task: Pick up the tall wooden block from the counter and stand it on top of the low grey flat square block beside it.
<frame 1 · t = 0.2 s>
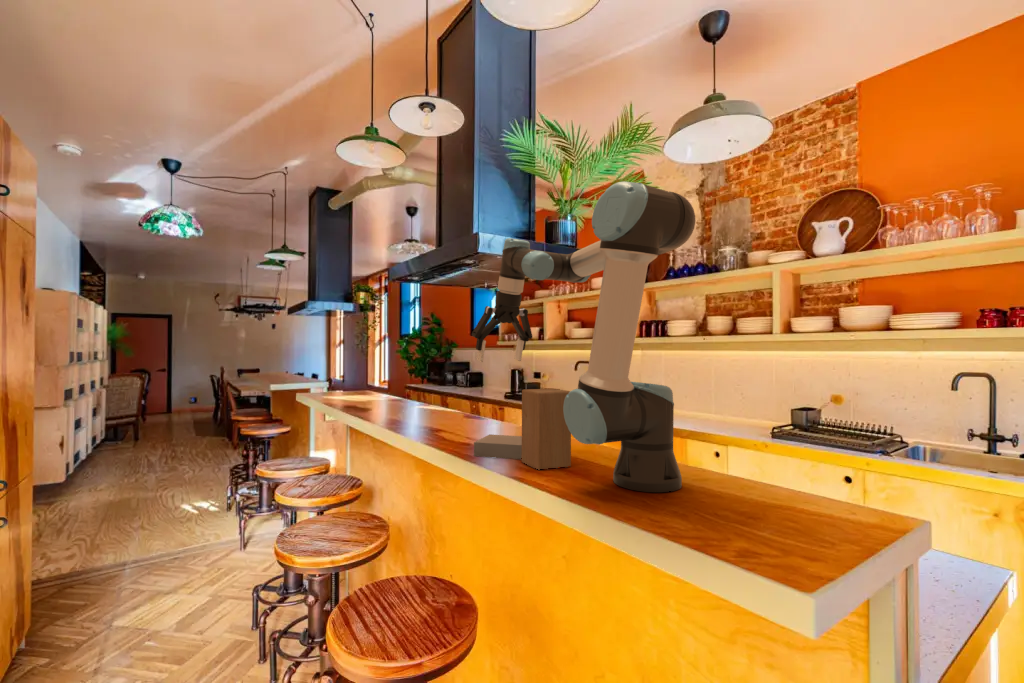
hand: (499, 360, 143), 28 cm above the worktop, tool tilted 15°, fingers open, 13 cm apart
grey flat square block: (504, 452, 140), on the worktop
wooden block: (545, 465, 125), on the worktop
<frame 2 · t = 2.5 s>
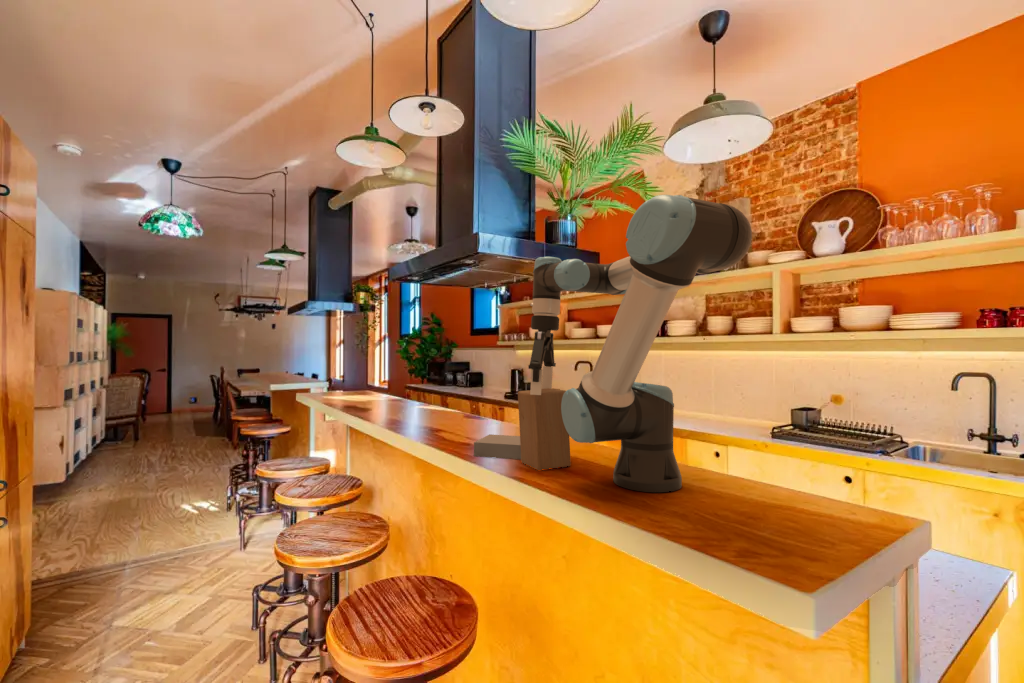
hand: (541, 394, 126), 19 cm above the worktop, tool pointing down, fingers open, 14 cm apart
wooden block: (545, 466, 125), on the worktop, touching gripper
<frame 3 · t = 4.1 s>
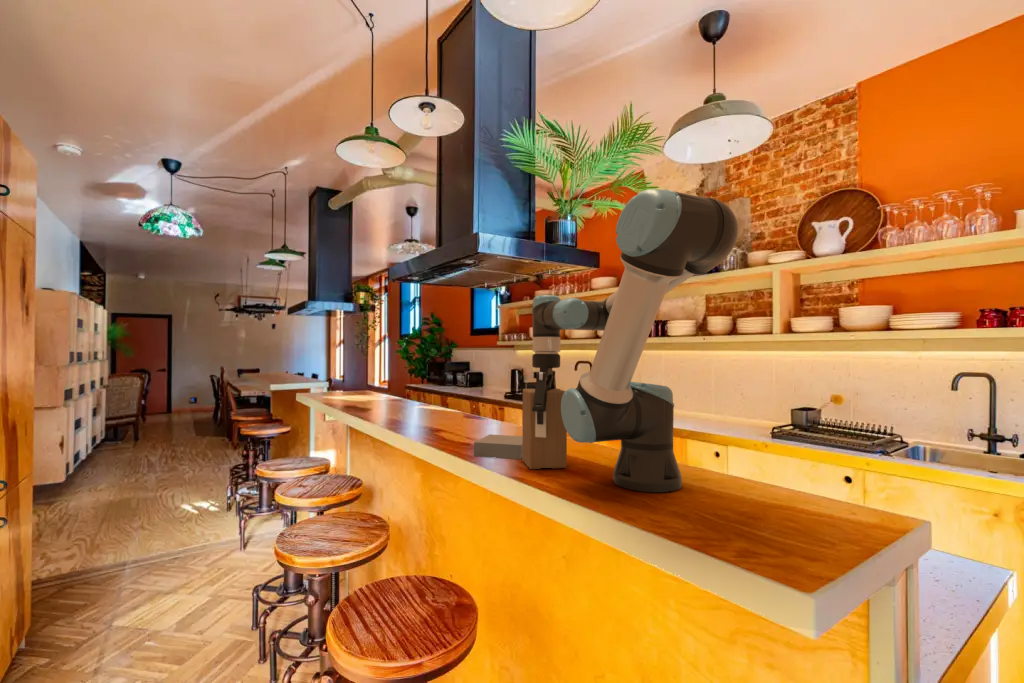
hand: (546, 433, 125), 8 cm above the worktop, tool pointing down, fingers closed on wooden block, 12 cm apart
wooden block: (543, 465, 125), on the worktop, touching gripper
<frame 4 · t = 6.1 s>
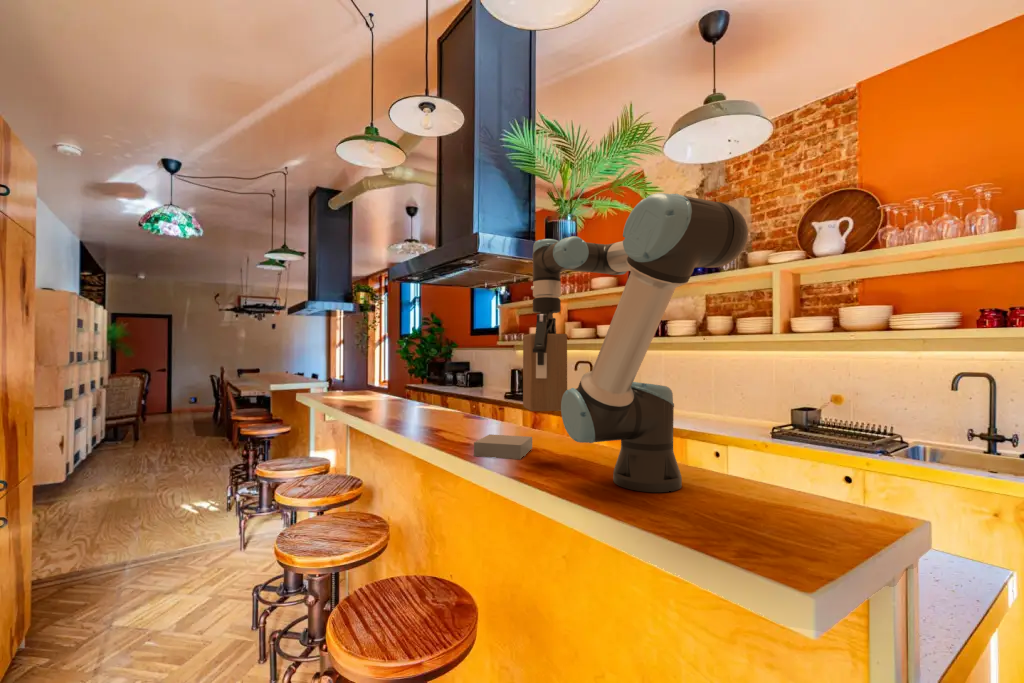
hand: (546, 377, 126), 23 cm above the worktop, tool pointing down, fingers closed on wooden block, 12 cm apart
wooden block: (544, 409, 125), point 15 cm above the worktop, touching gripper
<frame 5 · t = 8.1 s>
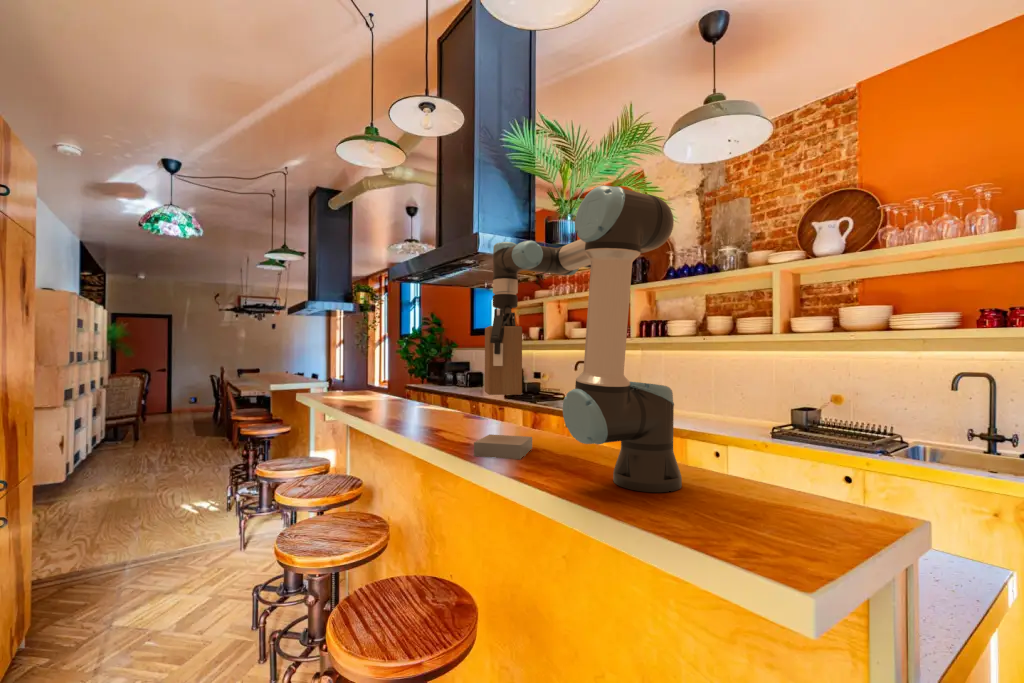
hand: (504, 365, 141), 26 cm above the worktop, tool pointing down, fingers closed on wooden block, 12 cm apart
wooden block: (502, 394, 140), point 18 cm above the worktop, touching gripper
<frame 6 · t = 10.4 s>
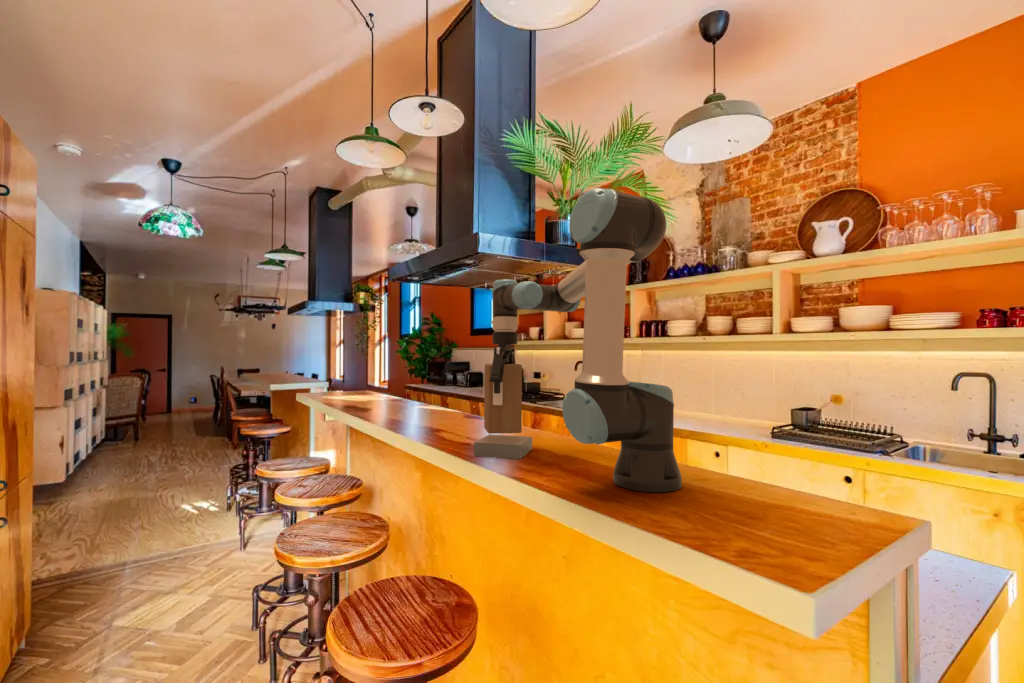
hand: (504, 402, 140), 15 cm above the worktop, tool pointing down, fingers closed on wooden block, 12 cm apart
wooden block: (502, 431, 140), point 6 cm above the worktop, touching gripper
when the fingers open (14 cm above the worktop, at t = 11.9 s): wooden block drops 2 cm, resting on grey flat square block.
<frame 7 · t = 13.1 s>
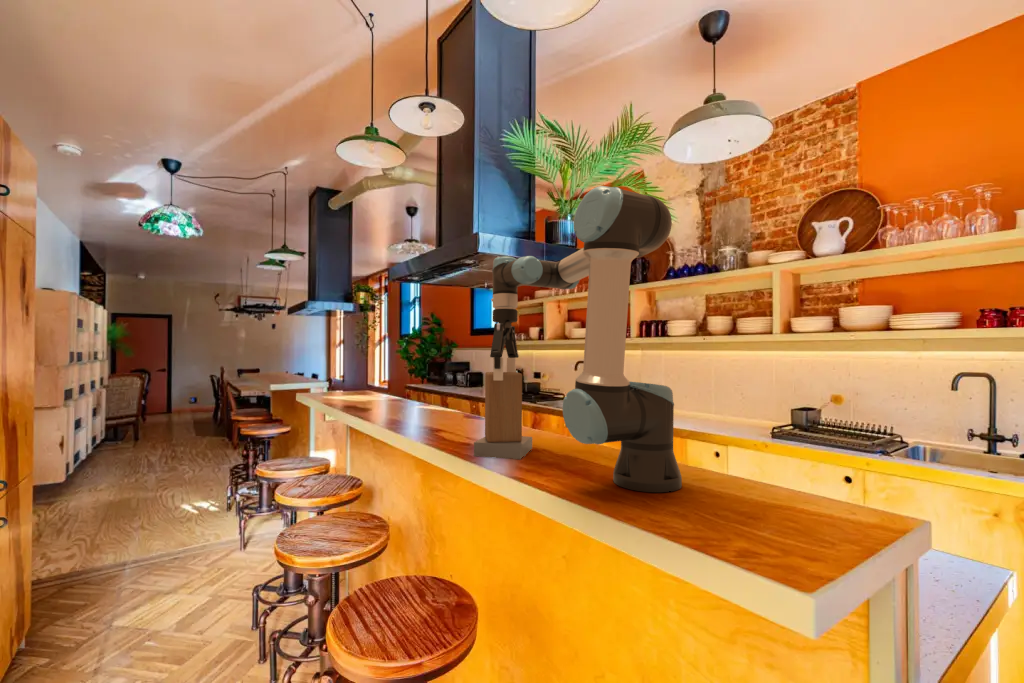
hand: (505, 379, 140), 22 cm above the worktop, tool pointing down, fingers open, 13 cm apart
wooden block: (502, 440, 140), point 4 cm above the worktop, touching grey flat square block, gripper
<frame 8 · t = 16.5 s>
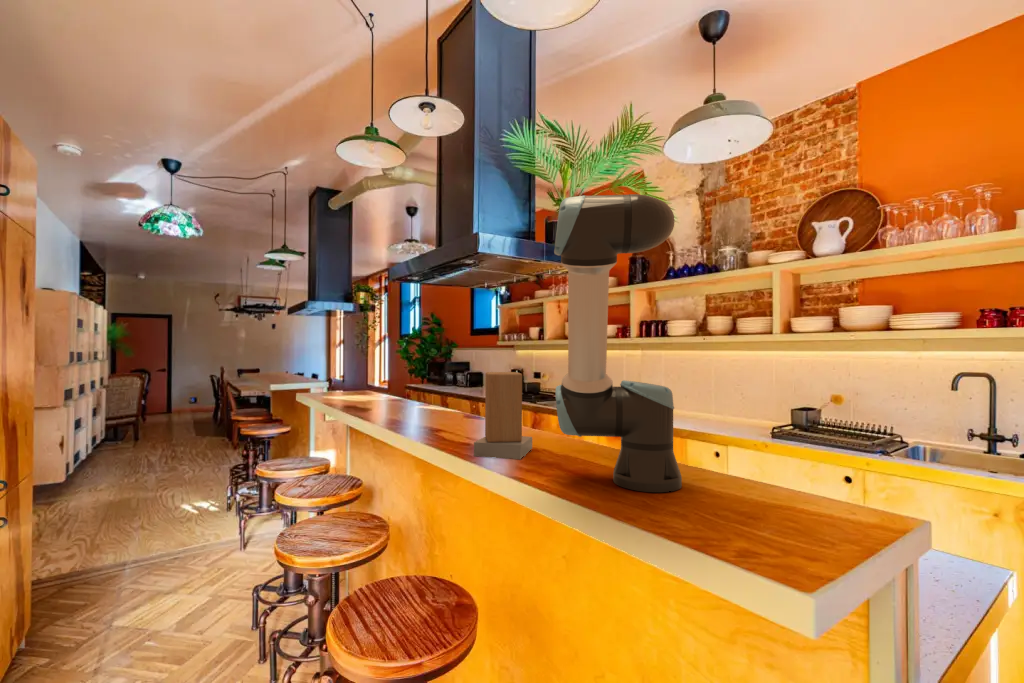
hand: (584, 331, 142), 37 cm above the worktop, tool pointing down, fingers open, 13 cm apart
wooden block: (502, 440, 140), point 4 cm above the worktop, touching grey flat square block
at the end: wooden block 0.4 cm off-centre on the grey flat square block, point 3.8 cm above the grey flat square block's base; wooden block tilted 0°; the gripper is holding nothing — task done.
